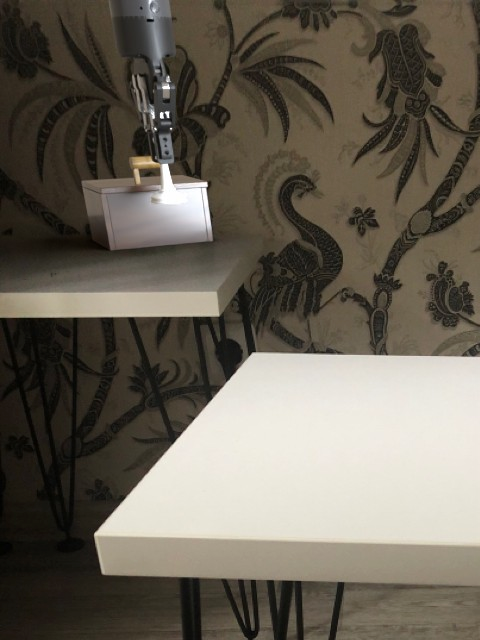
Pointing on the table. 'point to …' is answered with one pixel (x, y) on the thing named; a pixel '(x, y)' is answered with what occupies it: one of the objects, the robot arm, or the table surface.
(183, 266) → the table surface
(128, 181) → the chess box lid
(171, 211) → the chess box
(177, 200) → the chess piece
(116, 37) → the robot arm
